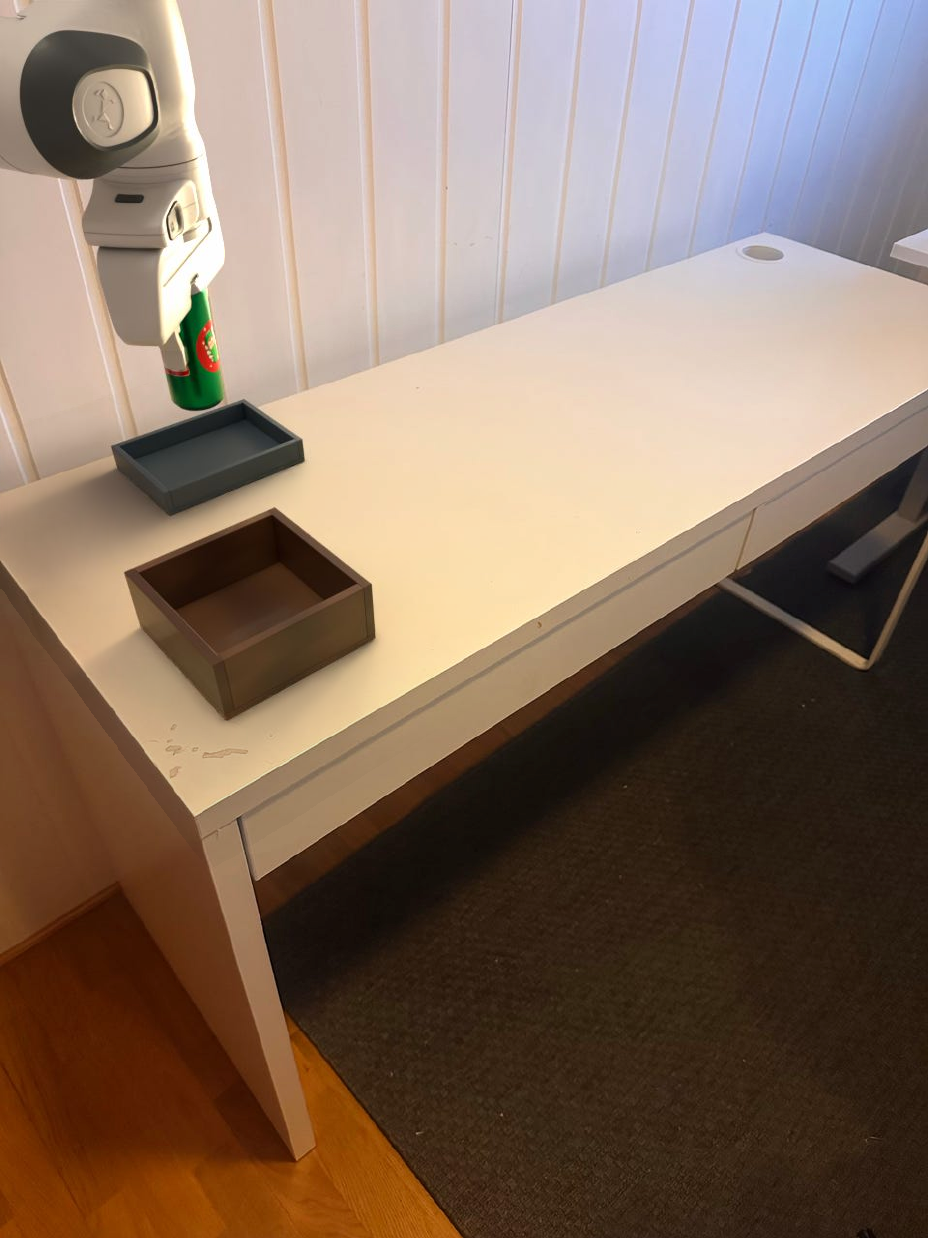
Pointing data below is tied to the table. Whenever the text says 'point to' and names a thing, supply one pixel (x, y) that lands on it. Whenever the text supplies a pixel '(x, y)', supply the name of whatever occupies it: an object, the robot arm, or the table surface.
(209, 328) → the soda can
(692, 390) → the table surface
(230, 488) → the tray
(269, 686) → the basket
